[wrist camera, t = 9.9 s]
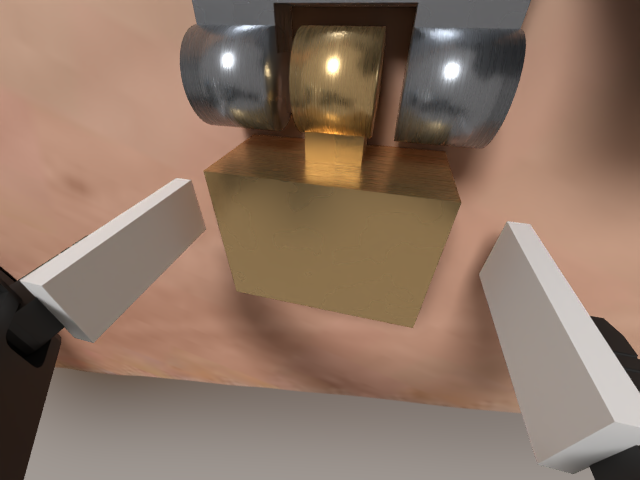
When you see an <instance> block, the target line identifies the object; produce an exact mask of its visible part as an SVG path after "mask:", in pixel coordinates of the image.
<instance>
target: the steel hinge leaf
mask: <svg viewBox="0 0 640 480" xmlns="http://www.w3.org/2000/svg"><path fill="white" fill-rule="evenodd" d="M530 1H531V0H192V3H193V8H194V12H195V17H196V22H197V24H196V25H193V26H191V27H190V28H189V29H188V30H187V32H186V33H185V35H184V38H183V41H182V45H181V51H180V70H181V77H182V82H183V86H184V89H185V93H186V95H187V98H188V100H189V102H190V104H191V106H192V108H193V110H194V111H195V113H196V114H197V115H198V116H199V117H200V119H202V120H203V121H204V122H206V123H207V124H210V125H218V126H230V127H241V128H253V129H264V130H275V131H281V130H283V129H284V128H285V127H286V125H287V123H288V121H289V118H290V115H291V111H292V110H291V103H290V89H289V72H290V59H291V51H292V45H293V39H292V15H291V6H416V12H415V17H414V23H413V29H412V34H411V40H410V46H409V51H408V58H407V63H406V69H405V74H404V80H403V86H402V91H401V97H400V103H399V109H398V116H397V122H396V129H395V136H394V141H400V142H412V143H423V144H434V145H446V146H457V147H468V148H484V147H485V146H487V145H488V144H489V143H490V142H491V140H492V139H493V138H494V136H495V135H496V133H497V132H498V130H499V129H500V127H501V125H502V123H503V121H504V119H505V117H506V115H507V113H508V111H509V108H510V106H511V103H512V101H513V98H514V96H515V93H516V90H517V87H518V83H519V80H520V76H521V72H522V68H523V63H524V58H525V49H526V39H525V34H524V31H523V30H522V29H521V26H522V23H523V20H524V18H525V15H526V12H527V10H528V7H529V4H530Z"/></svg>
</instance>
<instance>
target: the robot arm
mask: <svg viewBox="0 0 640 480" xmlns="http://www.w3.org/2000/svg"><path fill="white" fill-rule="evenodd" d="M205 230H206V227H205V224H204V220H203V217H202V214H201V210H200V207H199V204H198V201H197V197H196V194H195V191H194V187H193V184H192V181H191V180H188V179H180V178H176V179H174V180H173V181H171V182H170V183H168V184H167V185H165V186H163V187H162V188H160V189H159V190H157V191H156V192H154V193H153V194H151V195H150V196H148V197H147V198H145V199H144V200H142V201H140V202H139V203H137V204H136V205H134V206H133V207H131V208H130V209H128V210H127V211H125V212H124V213H122V214H121V215H119V216H117V217H116V218H114V219H113V220H111V221H110V222H108V223H107V224H105V225H104V226H102V227H101V228H99V229H98V230H96V231H95V232H93V233H91V234H90V235H88V236H85V237H84V238H82V239H81V240H79V241H78V242H76V243H75V244H73V245H72V247H68V248H67V249H65V250H64V251H62V252H61V254H59V255H56V256H55V257H53V258H52V259H50V260H48V261H47V262H45V263H44V264H42V265H41V266H39V267H38V268H36V269H35V270H33V271H32V272H30V273H28V274H27V275H25V276H24V277H22V278H21V279H19V280H18V281H16V282H14V281H13V280H12V279H11V278H9V277H8V276H7V275H6V274H5V273H4V272H2V271H1V270H0V480H24V476H25V473H26V469H27V465H28V462H29V458H30V454H31V450H32V447H33V444H34V440H35V436H36V433H37V428H38V425H39V421H40V418H41V414H42V411H43V407H44V403H45V400H46V396H47V392H48V389H49V385H50V381H51V378H52V374H53V370H54V367H55V363H56V360H57V356H58V352H59V349H60V345H61V337H60V336H59V335H58V334H57V333H58V332H59V331H61V330H62V329H63V328H64V327H65V328H66V329H67V330H68V331H69V332H70V333H71V335H72V336H73V337H74V338H77V339H81V340H85V341H88V342H92V343H94V342H95V341H96V340H97V339H98V338H99V337H100V336H101V335H102V334H103V333H104V332H105V331H106V330H107V329H108V328H109V327H110V326H111V325H112V324H113V323H114V322H115V321H116V320H117V319H118V318H119V317H120V316H121V315H122V314H123V313H124V312H125V311H126V310H127V309H128V308H129V307H130V306H131V305H132V304H133V302H134V301H135V300H136V299H137V298H138V297H139V296H140V295H141V294H142V293H143V292H144V291H145V290H146V289H147V288H148V287H149V286H150V285H151V284H152V283H153V282H154V281H155V280H156V279H157V278H158V277H159V276H160V275H161V274H162V273H163V272H164V271H165V270H166V269H167V268H168V267H169V266H170V265H171V264H172V263H173V262H174V261H175V260H176V259H177V258H178V257H179V256H180V255H181V254H182V253H183V252H184V251H185V250H186V249H187V248H188V247H189V246H190V245H191V244H192V243H193V242H194V241H195V240H196V239H197V238H198V237H199V236H200V235H201V234H202V233H203V232H204V231H205ZM479 276H480V279H481V283H482V286H483V289H484V292H485V296H486V299H487V302H488V305H489V309H490V312H491V315H492V318H493V322H494V325H495V328H496V332H497V335H498V338H499V341H500V345H501V348H502V351H503V354H504V358H505V361H506V364H507V367H508V371H509V374H510V377H511V380H512V384H513V387H514V390H515V393H516V397H517V400H518V403H519V406H520V410H521V413H522V416H523V419H524V423H525V426H526V429H527V433H528V435H529V439H530V442H531V446H532V448H533V452H534V455H535V458H536V462H537V464H538V465H542V466H546V467H549V468H553V469H557V470H560V471H564V472H568V473H571V474H574V473H577V472H579V471H581V470H584V469H586V468H588V467H590V469H591V471H592V473H593V476H594V478H595V480H640V359H638V358H637V356H638V355H637V354H636V352H635V351H634V350H633V348H632V347H631V345H630V344H629V343H628V341H627V340H626V339H625V337H624V336H623V335H622V334H621V333H620V332H618V331H617V330H616V329H615V328H614V327H613V326H612V325H610V324H609V323H608V322H607V321H606V320H605V319H604V318H599V317H593V316H589V314H588V313H587V311H586V310H585V308H584V306H583V305H582V303H581V302H580V300H579V299H578V297H577V296H576V294H575V293H574V291H573V290H572V288H571V286H570V285H569V283H568V282H567V280H566V279H565V277H564V276H563V274H562V273H561V271H560V269H559V268H558V266H557V265H556V263H555V262H554V260H553V259H552V257H551V256H550V254H549V253H548V251H547V249H546V248H545V246H544V245H543V243H542V242H541V240H540V239H539V237H538V236H537V234H536V232H535V231H534V229H533V228H532V226H531V225H530V224H524V223H517V222H509V221H507V222H506V224H505V226H504V228H503V230H502V232H501V234H500V235H499V237H498V239H497V241H496V243H495V245H494V247H493V249H492V251H491V253H490V254H489V256H488V258H487V260H486V262H485V264H484V266H483V268H482V270H481V271H480V273H479Z"/></svg>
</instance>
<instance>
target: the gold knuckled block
mask: <svg viewBox="0 0 640 480" xmlns="http://www.w3.org/2000/svg"><path fill="white" fill-rule="evenodd" d="M385 40H386V26H313V25H303V26H300V27H299V29H298V30H297V32H296V35H295V38H294V41H293V45H292V51H291V59H290V72H289V89H290V103H291V110H292V115H293V119H294V123H295V125H296V127H297V129H298V130H299V131H300V132H304V133H305V139H302V138H291V137H280V136H269V135H259V134H254V135H253V136H251V137H250V138H248V139H247V140H246V141H244V142H243V143H241V144H240V145H239V146H237V147H236V148H235V149H233V150H232V151H230V152H229V153H228V154H226V155H225V156H224V157H222V158H221V159H219V160H218V161H217V162H215V163H214V164H212V165H211V166H210V167H208V168H207V169H206V170H204V175H205V178H206V182H207V185H208V189H209V193H210V196H211V200H212V204H213V207H214V211H215V215H216V218H217V222H218V225H219V229H220V233H221V236H222V240H223V244H224V247H225V251H226V254H227V258H228V262H229V265H230V269H231V273H232V276H233V280H234V284H235V287H236V291H237V292H242V293H247V294H252V295H257V296H261V297H266V298H271V299H276V300H281V301H285V302H290V303H295V304H300V305H305V306H310V307H314V308H319V309H324V310H329V311H334V312H338V313H343V314H348V315H353V316H358V317H362V318H367V319H372V320H377V321H382V322H387V323H391V324H396V325H401V326H406V327H411V328H413V326H414V324H415V321H416V319H417V316H418V313H419V311H420V308H421V306H422V303H423V301H424V298H425V295H426V293H427V290H428V288H429V285H430V282H431V280H432V277H433V275H434V272H435V269H436V267H437V264H438V262H439V259H440V256H441V254H442V251H443V249H444V246H445V243H446V241H447V238H448V236H449V233H450V231H451V228H452V225H453V223H454V220H455V218H456V215H457V212H458V210H459V207H460V205H461V200H460V197H459V194H458V191H457V188H456V185H455V181H454V178H453V175H452V172H451V169H450V166H449V163H448V159H447V156H446V153H445V152H444V151H433V150H422V149H411V148H401V147H390V146H379V145H368V144H367V138H371V137H372V134H373V129H374V124H375V118H376V112H377V106H378V99H379V92H380V85H381V77H382V69H383V61H384V51H385Z"/></svg>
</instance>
